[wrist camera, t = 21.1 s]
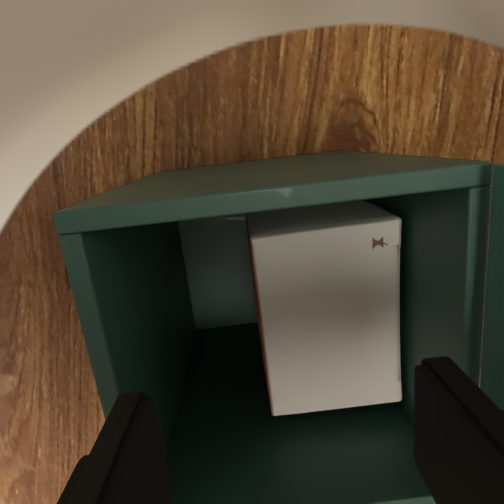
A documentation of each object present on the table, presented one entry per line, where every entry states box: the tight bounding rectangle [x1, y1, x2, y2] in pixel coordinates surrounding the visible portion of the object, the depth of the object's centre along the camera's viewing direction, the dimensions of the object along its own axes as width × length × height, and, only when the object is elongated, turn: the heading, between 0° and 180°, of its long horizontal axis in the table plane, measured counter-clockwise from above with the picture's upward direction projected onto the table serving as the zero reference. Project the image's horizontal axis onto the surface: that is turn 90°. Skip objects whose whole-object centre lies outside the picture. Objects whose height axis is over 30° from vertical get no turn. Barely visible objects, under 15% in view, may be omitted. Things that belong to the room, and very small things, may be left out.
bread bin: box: [53, 150, 493, 504], centre depth 18 cm, size 11×11×15 cm
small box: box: [245, 200, 402, 416], centre depth 20 cm, size 8×6×10 cm
